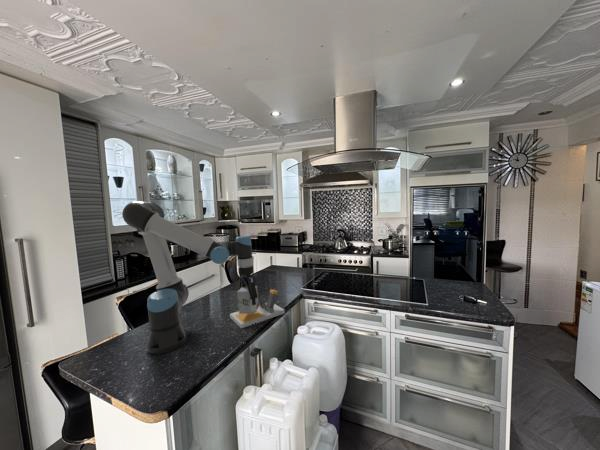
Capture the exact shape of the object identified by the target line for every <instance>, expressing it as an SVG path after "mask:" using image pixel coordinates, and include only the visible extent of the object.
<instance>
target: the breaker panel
mask: <svg viewBox="0 0 600 450" xmlns="http://www.w3.org/2000/svg"><path fill="white" fill-rule="evenodd" d="M266 304H267V302H264V303H263V304H262V306H261V305H259V307H258V309H257V311H256V312H255V313H250V314H239V310H238V311H235V312H231V313H229V318H230V319H231V320H232V321H233V322H234V323H235V324H236V325H237V326H238V327H239V328H240V329H244V328H247V327H249V326H253V325H256V324H258V323H261V322H264V321H267V320H269V319H272V318H274V317H275V318H276V317H278V316H281V315H284V314H286V313H285V311H286V310H285V309H284V308H282V307H280V306H279V305H277V304H276V303H274V307H273V308H271V309H269V310H267V309H266ZM255 323H256V324H255ZM252 324H253V325H252Z"/></svg>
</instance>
